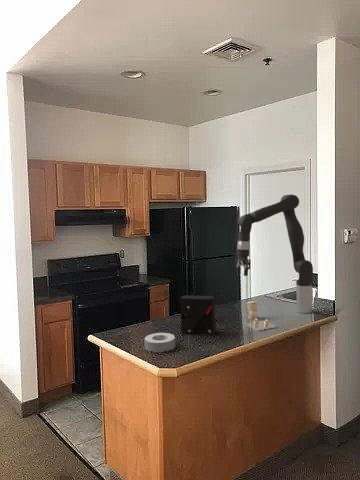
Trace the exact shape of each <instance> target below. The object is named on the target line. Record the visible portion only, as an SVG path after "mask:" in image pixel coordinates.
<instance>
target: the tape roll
mask: <svg viewBox="0 0 360 480" xmlns="http://www.w3.org/2000/svg"><path fill="white" fill-rule="evenodd" d="M175 348H176V337H175V335H174V334H173V333H169V332H156V333H151V334H149V335H145V337H144V349H145V351H147V350H148V352H150V351H153V352H152V353H165V352H164V351H166V352H169V350H170V351H172V350H174V349H175Z"/></svg>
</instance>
